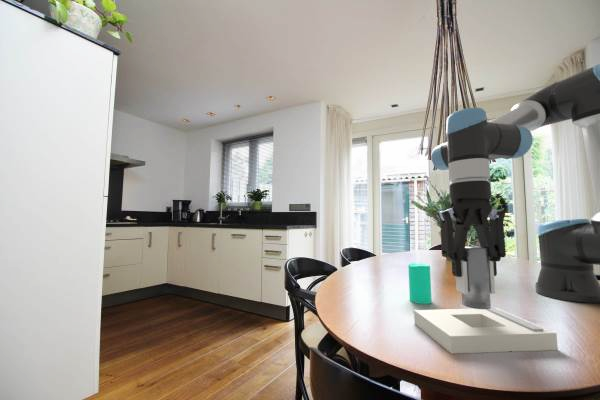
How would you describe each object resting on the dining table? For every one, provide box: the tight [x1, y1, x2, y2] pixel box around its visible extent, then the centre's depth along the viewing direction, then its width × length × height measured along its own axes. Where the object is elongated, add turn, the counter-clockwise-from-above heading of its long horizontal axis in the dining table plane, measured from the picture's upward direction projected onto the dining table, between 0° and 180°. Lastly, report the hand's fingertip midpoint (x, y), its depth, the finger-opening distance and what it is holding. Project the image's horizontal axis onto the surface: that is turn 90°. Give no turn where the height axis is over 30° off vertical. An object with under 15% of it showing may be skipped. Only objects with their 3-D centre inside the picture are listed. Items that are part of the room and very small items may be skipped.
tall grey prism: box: [461, 245, 492, 309], centre depth 56 cm, size 5×5×12 cm
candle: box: [408, 262, 433, 304], centre depth 80 cm, size 6×6×12 cm
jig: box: [413, 307, 559, 354], centre depth 56 cm, size 20×14×3 cm
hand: (475, 291), depth 56 cm, fingers closed on tall grey prism, 5 cm apart
